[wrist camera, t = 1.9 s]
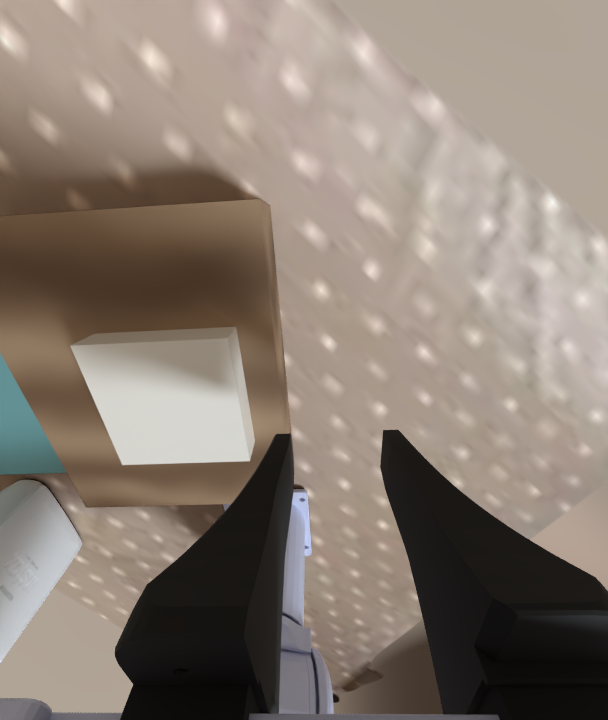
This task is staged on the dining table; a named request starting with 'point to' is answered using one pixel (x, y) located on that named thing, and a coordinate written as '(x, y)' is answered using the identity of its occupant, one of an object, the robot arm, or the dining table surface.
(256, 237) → the wood grain panel
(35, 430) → the mat
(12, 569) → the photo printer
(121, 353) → the coaster
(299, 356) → the dining table surface
